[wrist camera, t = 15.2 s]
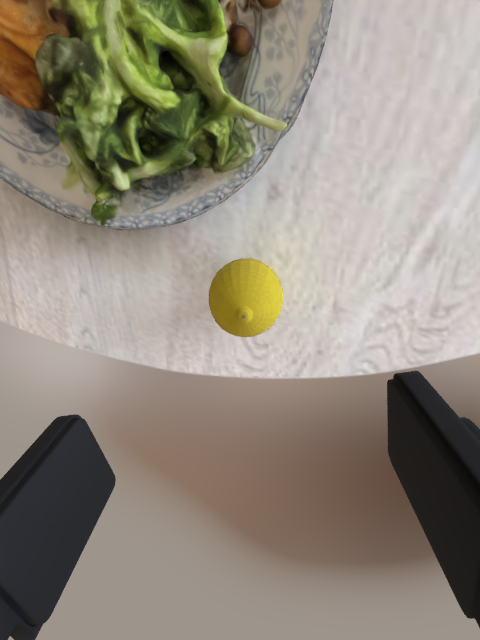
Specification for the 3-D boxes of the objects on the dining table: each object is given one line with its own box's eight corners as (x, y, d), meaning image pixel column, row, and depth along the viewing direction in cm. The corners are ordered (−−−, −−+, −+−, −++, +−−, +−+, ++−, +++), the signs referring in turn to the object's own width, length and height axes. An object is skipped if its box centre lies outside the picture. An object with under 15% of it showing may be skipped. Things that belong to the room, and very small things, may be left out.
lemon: (274, 314, 27) (279, 360, 19) (214, 307, 27) (197, 349, 19) (284, 254, 24) (295, 279, 17) (219, 246, 25) (202, 268, 17)
